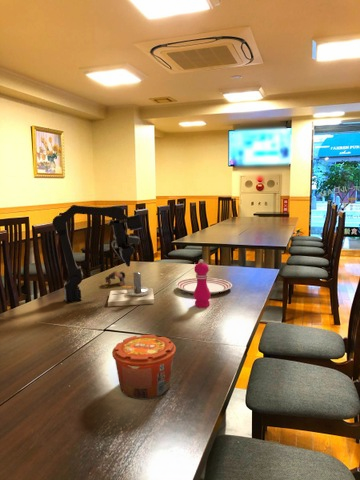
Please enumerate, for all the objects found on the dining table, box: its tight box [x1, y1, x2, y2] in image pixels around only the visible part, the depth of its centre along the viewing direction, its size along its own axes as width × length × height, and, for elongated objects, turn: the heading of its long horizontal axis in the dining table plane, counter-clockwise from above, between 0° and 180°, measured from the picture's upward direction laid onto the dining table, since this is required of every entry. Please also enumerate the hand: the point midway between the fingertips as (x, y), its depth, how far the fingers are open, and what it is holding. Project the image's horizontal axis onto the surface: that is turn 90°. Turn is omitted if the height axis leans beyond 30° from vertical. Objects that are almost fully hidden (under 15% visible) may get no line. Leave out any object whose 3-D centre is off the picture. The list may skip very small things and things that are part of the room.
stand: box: [107, 288, 155, 307], centre depth 170 cm, size 20×18×2 cm
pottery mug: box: [104, 270, 126, 287], centre depth 197 cm, size 12×9×8 cm
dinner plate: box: [175, 277, 233, 295], centre depth 182 cm, size 27×27×3 cm
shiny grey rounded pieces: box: [121, 271, 150, 297], centre depth 169 cm, size 13×13×11 cm
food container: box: [111, 334, 177, 400], centre depth 94 cm, size 16×16×11 cm
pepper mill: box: [193, 259, 212, 309], centre depth 156 cm, size 7×7×20 cm
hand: (125, 263), depth 176 cm, fingers open, 9 cm apart
